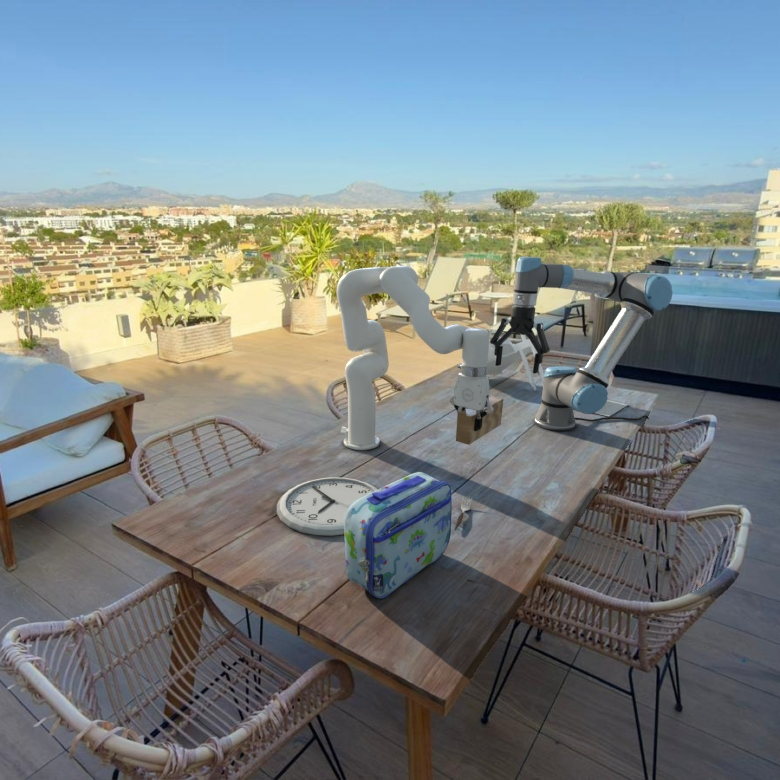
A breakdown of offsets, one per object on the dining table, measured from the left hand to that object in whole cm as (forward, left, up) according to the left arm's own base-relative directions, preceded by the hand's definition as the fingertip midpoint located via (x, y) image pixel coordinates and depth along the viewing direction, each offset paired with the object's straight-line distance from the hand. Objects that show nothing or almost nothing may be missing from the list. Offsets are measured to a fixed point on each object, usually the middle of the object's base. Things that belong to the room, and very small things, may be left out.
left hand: (469, 427), depth 160 cm
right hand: (+5, +27, +13) cm, 31 cm away
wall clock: (-23, -40, -15) cm, 48 cm away
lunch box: (+7, -55, -15) cm, 57 cm away
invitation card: (+25, +90, -15) cm, 94 cm away
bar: (+1, +7, -4) cm, 8 cm away
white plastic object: (-24, +98, -15) cm, 101 cm away
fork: (+10, -27, -15) cm, 32 cm away
